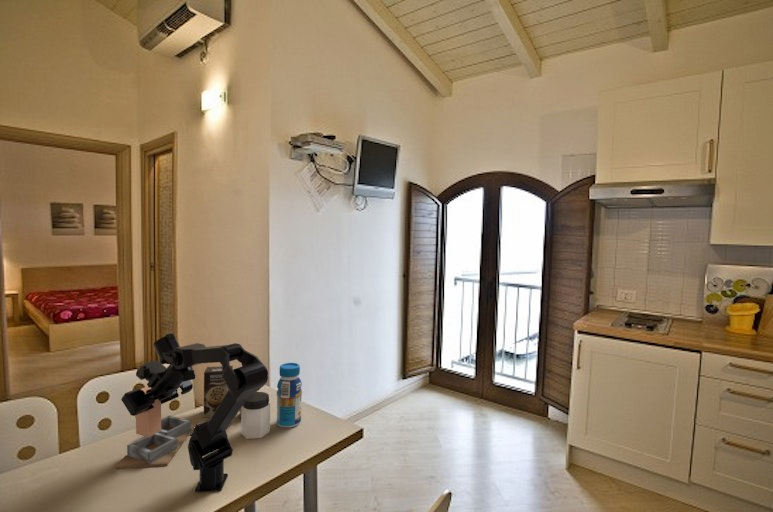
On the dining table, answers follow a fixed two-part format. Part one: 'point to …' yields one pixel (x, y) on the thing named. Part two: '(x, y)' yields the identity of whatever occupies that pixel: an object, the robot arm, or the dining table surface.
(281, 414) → the beverage bottle
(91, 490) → the dining table surface
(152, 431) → the pink rectangular block
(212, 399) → the coffee box
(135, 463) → the cap board
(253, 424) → the jar
